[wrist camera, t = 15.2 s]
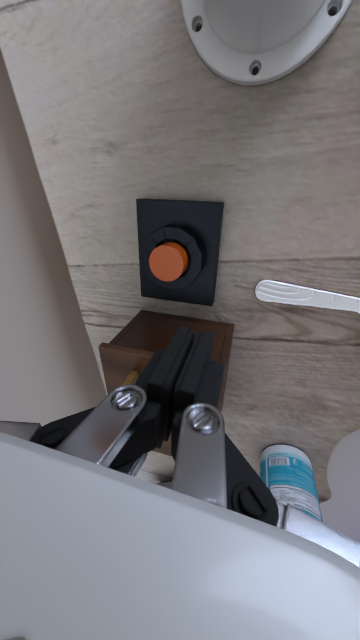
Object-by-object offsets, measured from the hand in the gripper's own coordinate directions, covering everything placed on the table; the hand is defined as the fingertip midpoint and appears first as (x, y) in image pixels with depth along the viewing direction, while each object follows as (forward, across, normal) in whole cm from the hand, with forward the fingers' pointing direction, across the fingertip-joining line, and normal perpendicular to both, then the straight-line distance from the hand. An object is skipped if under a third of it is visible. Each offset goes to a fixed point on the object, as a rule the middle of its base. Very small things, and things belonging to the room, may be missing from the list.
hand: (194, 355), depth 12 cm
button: (+15, +6, 0) cm, 16 cm away
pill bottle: (+18, -13, +30) cm, 37 cm away
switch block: (+18, +6, 0) cm, 19 cm away
